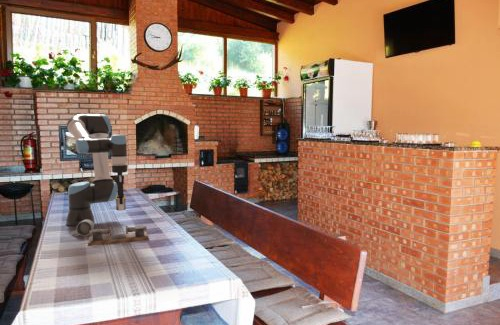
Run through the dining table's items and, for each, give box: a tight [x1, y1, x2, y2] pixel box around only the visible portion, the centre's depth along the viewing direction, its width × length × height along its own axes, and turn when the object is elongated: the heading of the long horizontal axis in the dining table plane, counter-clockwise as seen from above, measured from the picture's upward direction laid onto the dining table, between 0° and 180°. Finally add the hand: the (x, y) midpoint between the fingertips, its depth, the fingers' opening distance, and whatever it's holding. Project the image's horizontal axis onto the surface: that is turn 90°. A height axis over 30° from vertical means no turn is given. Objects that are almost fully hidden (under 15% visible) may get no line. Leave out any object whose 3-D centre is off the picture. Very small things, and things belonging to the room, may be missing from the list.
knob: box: [114, 194, 127, 212], centre depth 203 cm, size 5×5×7 cm
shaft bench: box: [87, 224, 150, 246], centre depth 195 cm, size 28×11×7 cm, turn 110°
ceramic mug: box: [71, 220, 95, 237], centre depth 204 cm, size 11×8×8 cm
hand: (121, 208), depth 203 cm, fingers closed on knob, 5 cm apart
